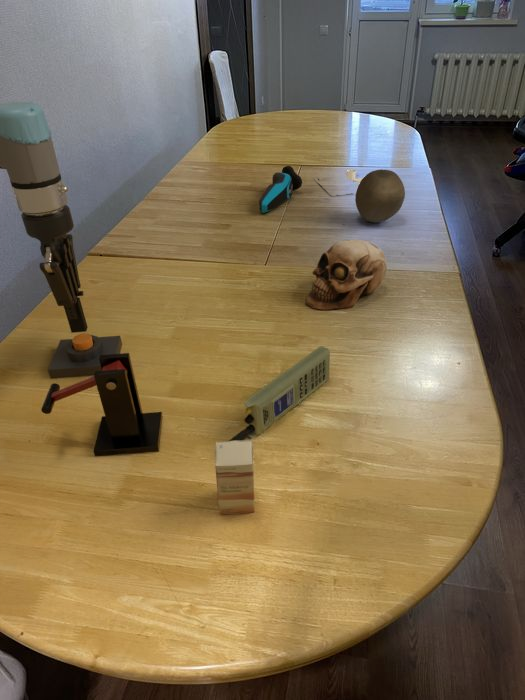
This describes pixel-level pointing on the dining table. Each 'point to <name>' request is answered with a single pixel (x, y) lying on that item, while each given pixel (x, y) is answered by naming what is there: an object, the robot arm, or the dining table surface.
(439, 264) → the dining table surface
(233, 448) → the small printed carton
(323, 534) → the dining table surface
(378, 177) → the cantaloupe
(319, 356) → the handheld radio
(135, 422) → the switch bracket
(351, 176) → the teacup and saucer
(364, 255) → the tan skull
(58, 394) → the switch lever
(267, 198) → the electric shaver
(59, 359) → the control block
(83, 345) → the button
